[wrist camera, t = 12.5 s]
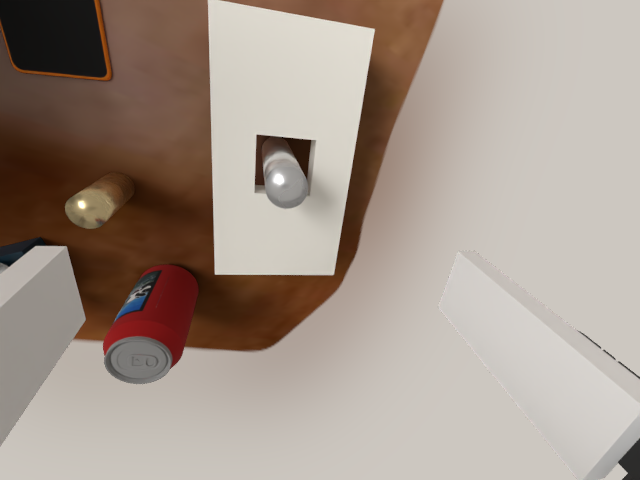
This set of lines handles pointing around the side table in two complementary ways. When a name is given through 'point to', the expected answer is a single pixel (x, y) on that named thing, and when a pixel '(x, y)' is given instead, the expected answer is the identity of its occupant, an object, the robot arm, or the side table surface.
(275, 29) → the white bench
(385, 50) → the side table surface
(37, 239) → the watch
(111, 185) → the short brass pin
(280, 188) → the tall steel pin
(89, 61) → the smartphone
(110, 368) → the beverage can
